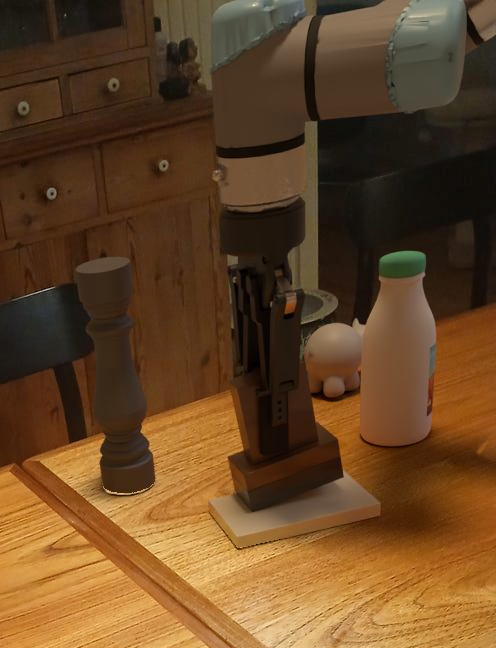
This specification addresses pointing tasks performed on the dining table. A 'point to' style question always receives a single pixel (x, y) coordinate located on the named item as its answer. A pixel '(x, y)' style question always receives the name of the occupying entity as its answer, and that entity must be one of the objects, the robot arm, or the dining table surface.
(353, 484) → the tile
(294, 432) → the stepped wooden block
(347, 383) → the round bodied animal figurine
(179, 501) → the dining table surface
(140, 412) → the candle holder
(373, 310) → the milk bottle
